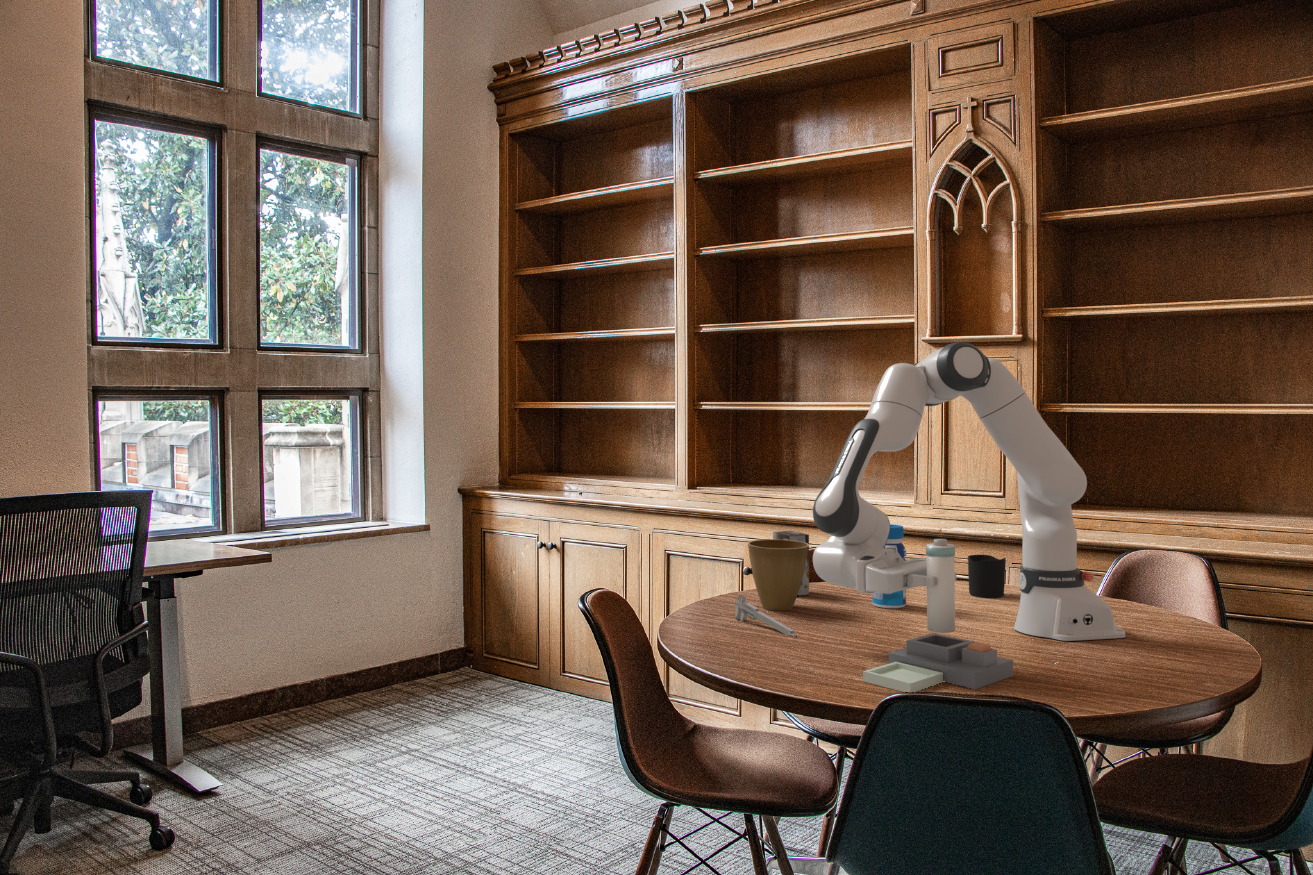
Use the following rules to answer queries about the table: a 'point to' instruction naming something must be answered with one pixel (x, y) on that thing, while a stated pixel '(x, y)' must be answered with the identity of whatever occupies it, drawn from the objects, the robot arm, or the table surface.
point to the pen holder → (986, 576)
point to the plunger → (979, 647)
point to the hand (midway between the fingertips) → (944, 579)
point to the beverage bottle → (895, 543)
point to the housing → (954, 660)
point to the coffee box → (805, 538)
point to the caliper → (758, 616)
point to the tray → (902, 677)
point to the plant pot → (778, 571)
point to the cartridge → (941, 587)
